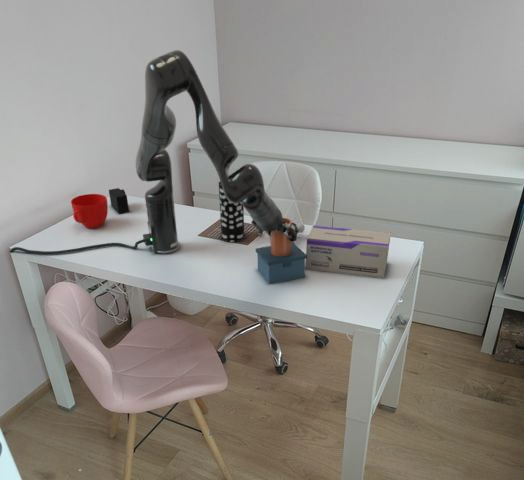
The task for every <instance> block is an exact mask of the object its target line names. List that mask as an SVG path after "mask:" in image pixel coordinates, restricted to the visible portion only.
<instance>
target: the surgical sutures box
mask: <svg viewBox="0 0 524 480" xmlns="http://www.w3.org/2000/svg"><path fill="white" fill-rule="evenodd" d="M390 243H391V232H385V231H384V232H383V231H374V230H363V229H354V228H345V227H334V226H325V225H313V226H312V227H311V229H310V232H309V233H308V235H307V236H306V250H305V251H306V252H305V254H306V255H307V259H305V270H312V271H319V272H329V273H335V274H344V275H353V276H361V277H369V278H377V279H378V278H379V279H384V278H385V274H386V269H387V263H388V258H389V249H390Z"/></svg>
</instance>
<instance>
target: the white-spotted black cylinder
mask: <svg viewBox="0 0 524 480" xmlns="http://www.w3.org/2000/svg"><path fill="white" fill-rule="evenodd" d="M218 197H219V215H220V232H221V233H220V234H221V235H220V237H221V240H223V241H225V242H227V243H237V242H240V241H243V240H244V239H245V215H244V214H245V213H244V210H245V208H244V206H243V205H242V202H241V203H238V204H235V203H232V202H230V201H229V200H228V199H227V198H226V196H225V194H224V191H223V188H222V185H221V182H220V181H218Z"/></svg>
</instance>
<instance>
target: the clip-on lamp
mask: <svg viewBox="0 0 524 480" xmlns="http://www.w3.org/2000/svg"><path fill="white" fill-rule="evenodd" d="M294 223H295V224H296V226H297V228H298V230H299V231H298V234H302V233H304V232H305V229H306V226H305V224H304V223H302V222H294ZM255 231H256V234H257V235H258V236H261V235H263V230H262V231H259V230H258V229H257V228H256V229H255ZM298 234H297V236H296V239H295V241H294V242H296V241H297V238H298V239H300V238H301V237H300V236H299V235H298Z"/></svg>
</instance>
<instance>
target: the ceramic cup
mask: <svg viewBox="0 0 524 480" xmlns="http://www.w3.org/2000/svg"><path fill="white" fill-rule="evenodd" d="M70 204H71V208H72V210H73V214H72V216H73V219H74V221H75V222H76V223H78V224H82V225H83V226H84V227H85V228H86V229H97V228H100V227H102V226H103V225H104V224H105V221H106V220H107V217H108V214H109V213H108V212H109V206H108V205H109V204H108V199H107V196H106V195H104V194H100V193H88V194H86V193H85V194H81V195H78V196H76V197H74V198H72V199H71V201H70Z"/></svg>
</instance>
